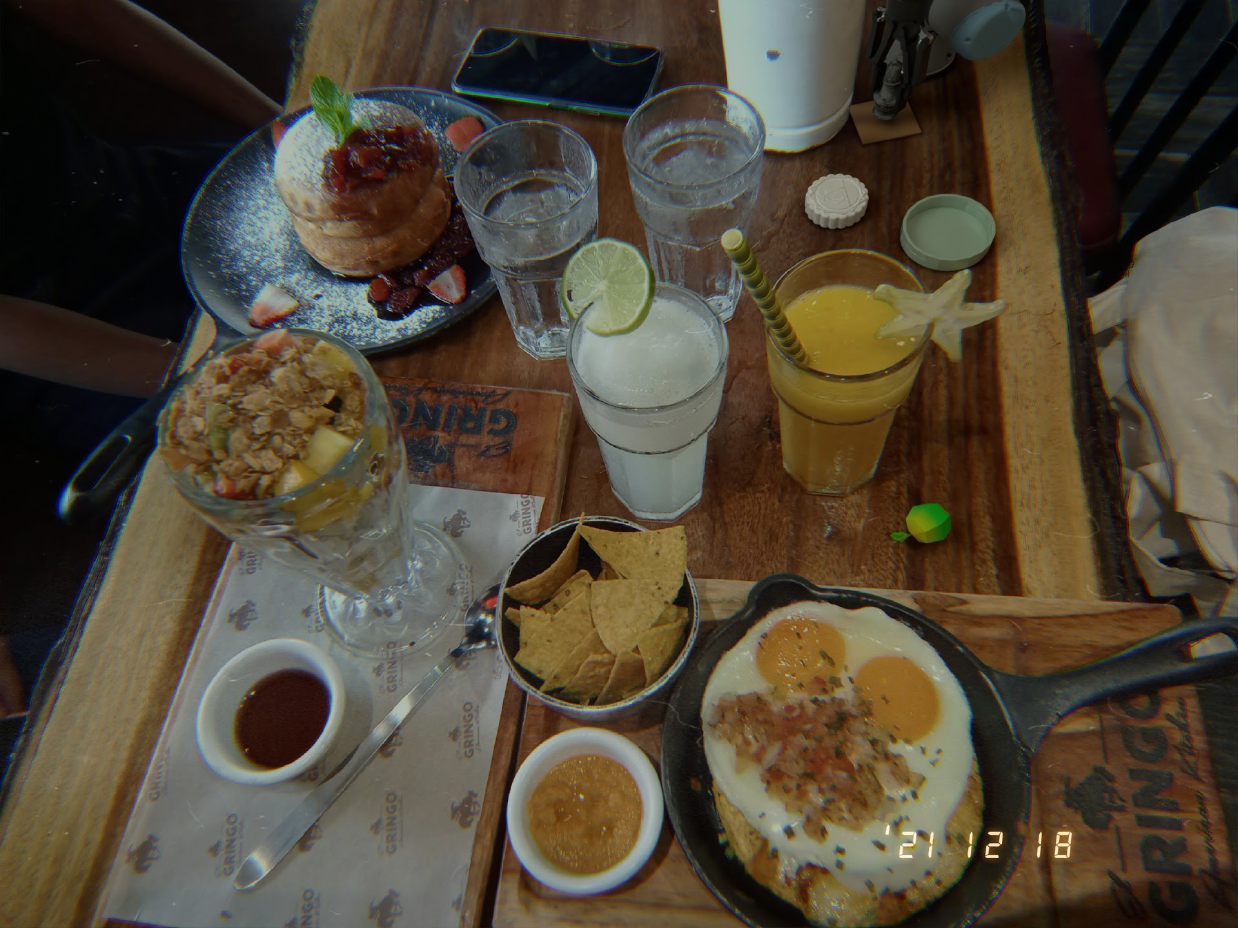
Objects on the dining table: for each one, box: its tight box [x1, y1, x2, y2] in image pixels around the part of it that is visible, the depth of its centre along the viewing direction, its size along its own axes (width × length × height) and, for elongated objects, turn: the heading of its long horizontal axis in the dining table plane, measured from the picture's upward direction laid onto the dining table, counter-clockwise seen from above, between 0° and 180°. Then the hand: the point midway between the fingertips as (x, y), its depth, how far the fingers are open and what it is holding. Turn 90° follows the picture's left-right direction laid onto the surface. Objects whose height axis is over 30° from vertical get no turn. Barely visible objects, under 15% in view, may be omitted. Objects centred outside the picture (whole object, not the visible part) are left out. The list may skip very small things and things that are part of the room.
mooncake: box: [804, 173, 869, 230], centre depth 144 cm, size 12×12×4 cm
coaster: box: [849, 99, 922, 146], centre depth 154 cm, size 12×12×1 cm
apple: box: [889, 502, 952, 544], centre depth 112 cm, size 7×6×9 cm
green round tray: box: [899, 193, 997, 272], centre depth 138 cm, size 16×16×3 cm
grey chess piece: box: [872, 58, 903, 120], centre depth 147 cm, size 6×6×12 cm
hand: (887, 102), depth 151 cm, fingers closed on grey chess piece, 6 cm apart
